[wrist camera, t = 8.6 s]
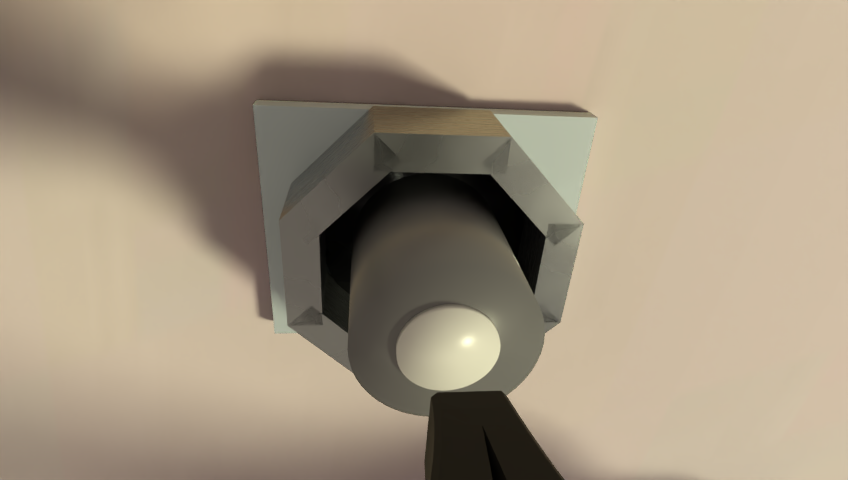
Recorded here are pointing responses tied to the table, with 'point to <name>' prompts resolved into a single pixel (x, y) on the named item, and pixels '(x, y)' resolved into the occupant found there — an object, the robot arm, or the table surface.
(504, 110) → the plate
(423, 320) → the cap
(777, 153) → the table surface
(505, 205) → the octagonal ring mount
